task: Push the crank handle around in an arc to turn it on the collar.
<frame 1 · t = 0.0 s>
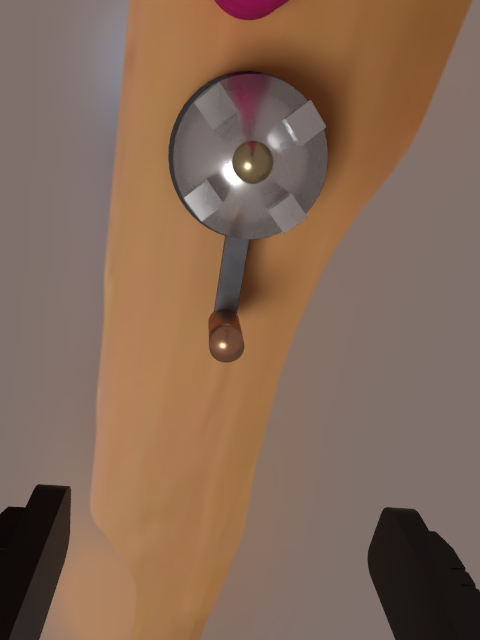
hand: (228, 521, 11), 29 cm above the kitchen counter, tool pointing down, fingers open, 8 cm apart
crank handle: (242, 224, 33), point 5 cm above the kitchen counter, hinge at 0.0°
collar: (245, 159, 36), on the kitchen counter
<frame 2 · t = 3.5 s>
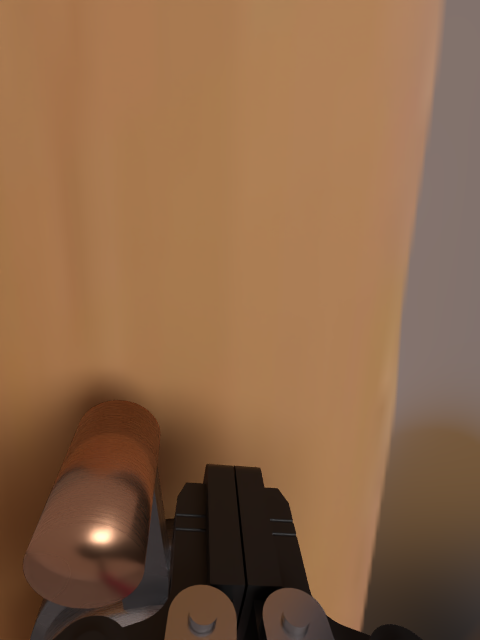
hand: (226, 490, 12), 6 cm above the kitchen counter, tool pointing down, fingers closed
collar: (169, 610, 22), on the kitchen counter
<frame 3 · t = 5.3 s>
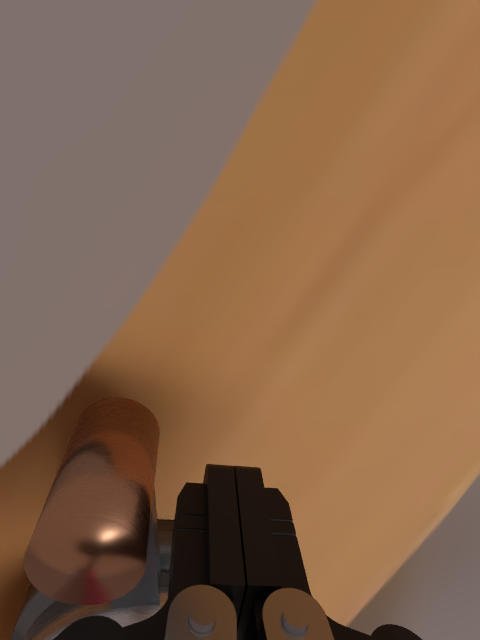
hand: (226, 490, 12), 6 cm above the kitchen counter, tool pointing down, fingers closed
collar: (152, 612, 22), on the kitchen counter
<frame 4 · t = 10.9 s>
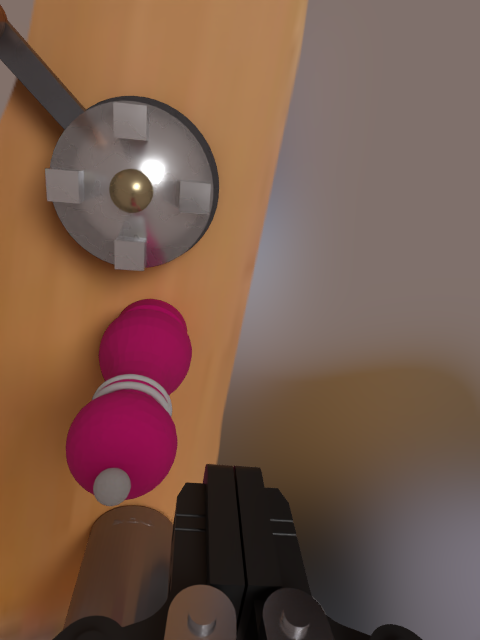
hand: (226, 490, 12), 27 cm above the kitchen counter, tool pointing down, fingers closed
pepper mill: (152, 330, 40), on the kitchen counter
crank handle: (83, 136, 28), point 5 cm above the kitchen counter, hinge at 48.5°
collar: (141, 183, 35), on the kitchen counter
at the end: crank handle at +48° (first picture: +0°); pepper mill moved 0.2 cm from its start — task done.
